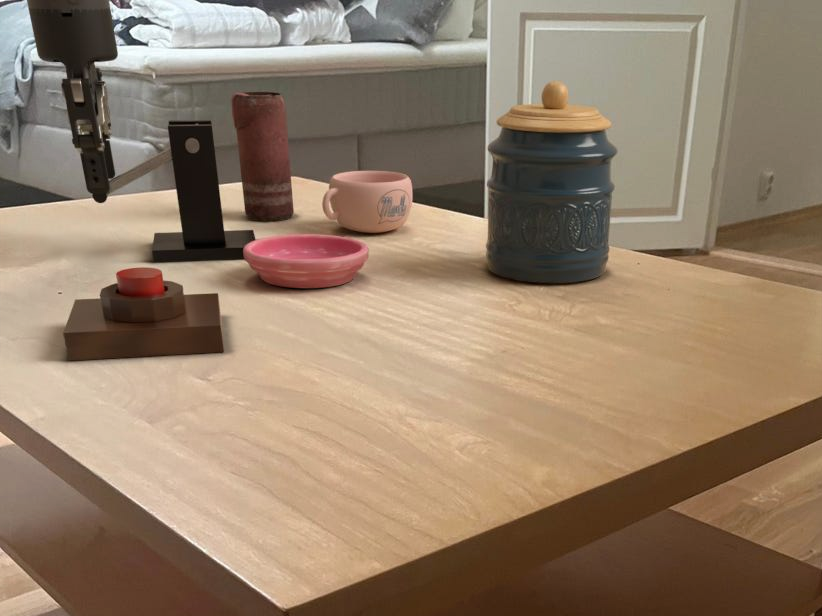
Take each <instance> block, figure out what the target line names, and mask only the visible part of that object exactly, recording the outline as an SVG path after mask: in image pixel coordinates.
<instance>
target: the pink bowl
mask: <svg viewBox="0 0 822 616" xmlns="http://www.w3.org/2000/svg"><path fill="white" fill-rule="evenodd" d="M243 254H244V259H243V260H245V262H247V263H248V265H249V267H250V268H251V269H252V270H253V271H255V272H257V274H258V275H259V277H260V279H261V280H262V281H264V282H265V283H267V284H270V285H273V286H276V287H277V286H278V287H282V288H292V289H321V288H331V287H335V286H340V285H344V284H347V283H349V282H351V281H353V280H354V279H355V278H356V275H357V274H358V271H360V270H361V269H362V268H363V267H364V266H365V262H367V261H368V259H369V247H368V245H367V244H366V243H364V241H360V240H359V239H354V238H350V237H345V236H341V235H340V236H339V235H330V234H316V233H314V234H313V233H302V234H301V233H300V234H283V235H274V236H269V237H263V238H259V239H256V240H255V241H252V242H250V243H248V244H247V245H245V247H244V249H243Z"/></svg>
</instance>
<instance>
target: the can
mask: <svg viewBox="0 0 822 616" xmlns="http://www.w3.org/2000/svg"><path fill="white" fill-rule="evenodd" d="M231 96H232V97H231V99H230V100H231V102H230V103H231V116H232V121H233V125H234V129H235V130H236V140H237V148H238V158H239V167H240V177H241V186H242V195H243V196H242V198H243V204H244V213H245V215H246V217H247V218H248V219H249V220H252V221H256V222H257V221H258V222H279V221H280V222H281V221H286V220H290V219H291V218H292V217H293V215H294V213H295V211H294V198H293V187H292V186H293V185H292V173H291V162H290V149H289V138H288V137H289V136H288V125H287V123H288V122H287V114H286V113H287V112H286V102H285V99H284V97H283V96H282V93H280V92H274V91H273V92H271V91H244V92H235V93H233V94H232V95H231Z"/></svg>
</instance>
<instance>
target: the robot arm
mask: <svg viewBox="0 0 822 616" xmlns="http://www.w3.org/2000/svg"><path fill="white" fill-rule="evenodd" d="M26 3H27V8H28V14H29V19H30V23H31V27H32V34H33V38H34V42H35V48H36V53H37V56H38V57H39V59H40V60H42V62H43V61H44V62H45V63H46V62H47V63H61V64H62V65H63V66H64V67H65V73H66V78H62V79H61V85H60V86H61V95H62V97H63V100H64V103H65V104H66V113H67V114H66V115H67V122H68V125H69V127H70V130H71V131H70V132H71V136H72V138H71V142H72V145H73V146H74V149H76V150H77V153H78V154H79V156H80V161H81V166H82V171H83V177H84V182H85V187H86V190H87V193H89V194H91V195H92V194H97V193H108V192H109V190H110V184H109V181H110V180H111V179H113V178H115V177H116V170H115V169H116V168H115V162H114V158H113V152H112V147H111V141H110V140H111V136H112V131H111V127H112V122H111V111H110V107H109V103H108V100H109V99H108V98H109V96H108V95H109V94H108V87H107V83H106V80H103V72H102V71H101V68H100V67H96V65H95V64H96V63H105V62H112V61H115V60H116V59H117V58H118V55H119V51H118V46H117V40H116V34H115V33H116V32H115V27H114V22H113V15H112V9H111V3H110V0H26Z"/></svg>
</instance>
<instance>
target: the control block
mask: <svg viewBox="0 0 822 616" xmlns="http://www.w3.org/2000/svg"><path fill="white" fill-rule="evenodd" d="M163 282H164V289H165V292H163V293H161V294H156V295H150V296H137V297H131V296H122V295H119V289H118V284H117V282H116V283H112V284H110V285H107V286H105V287H103V288H101V289H100V293H99V298H78V299H77V298H75V300H74V301H73V304H72V307H71V310H70V313H69V316H68V319H67V321H66V324H65V326H64V330H63V332H62V335H63V341H64V345H65V349H66V354H67V355H66V356H67V359H68V361H70V362H71V361H72V362H73V361H86V360H87V361H89V360H104V359H106V360H107V359H122V358H123V359H124V358H125V359H126V358H140V357H141V358H142V357H157V356H176V355H194V354H196V355H197V354H210V353H224V352H225V347H224V336H223V335H224V334H223V323H222V313H221V305H220V297H219V293H218V292H216V293H215V292H213V293H212V292H211V293H192V294H191V293H189V294H185V293H184V287H183V284H180V283H177V282H175V281H172V280H164V279H163Z"/></svg>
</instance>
